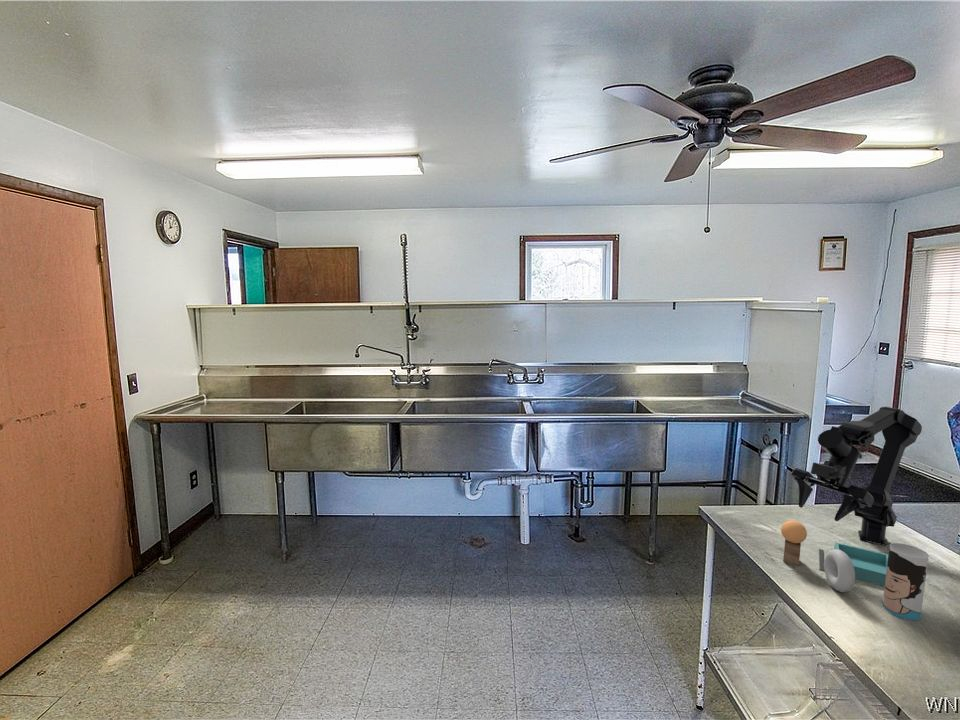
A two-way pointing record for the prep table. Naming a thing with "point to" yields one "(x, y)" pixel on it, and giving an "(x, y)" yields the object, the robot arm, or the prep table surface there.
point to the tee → (792, 552)
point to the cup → (905, 581)
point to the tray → (866, 563)
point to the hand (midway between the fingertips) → (817, 513)
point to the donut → (839, 570)
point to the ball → (793, 531)
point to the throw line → (821, 559)
